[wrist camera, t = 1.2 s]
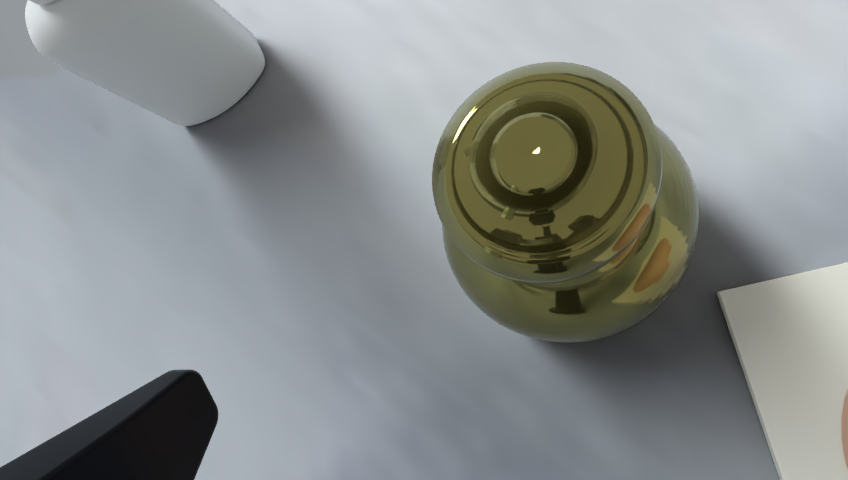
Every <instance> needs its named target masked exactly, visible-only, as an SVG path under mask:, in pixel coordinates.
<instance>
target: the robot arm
mask: <svg viewBox="0 0 848 480" xmlns="http://www.w3.org/2000/svg"><path fill="white" fill-rule="evenodd" d="M217 421H218V409H217V406H216V404H215V402H214V400H213V398H212V396H211V394H210V392H209V390H208V388H207V386H206V384H205V382H204V380H203V378H202V377H201V375H200V374H199V373H198V372H196V371H194V370H172V371H169V372H167V373H165V374H163V375H161V376H160V377H158V378H156V379H154V380H153V381H151V382H149V383H147V384H146V385H144V386H142V387H140V388H139V389H137V390H135V391H133V392H132V393H130V394H128V395H126V396H125V397H123V398H121V399H119V400H118V401H116V402H114V403H112V404H111V405H109V406H107V407H105V408H104V409H102V410H100V411H98V412H97V413H95V414H93V415H91V416H90V417H88V418H86V419H84V420H83V421H81V422H79V423H77V424H76V425H74V426H72V427H70V428H69V429H67V430H65V431H63V432H62V433H60V434H58V435H56V436H55V437H53V438H51V439H49V440H48V441H46V442H44V443H42V444H41V445H39V446H37V447H35V448H34V449H32V450H30V451H28V452H27V453H25V454H23V455H21V456H20V457H18V458H16V459H14V460H13V461H11V462H9V463H7V464H6V465H4V466H2V467H0V480H194V479H195V476H196V474H197V471H198V469H199V466H200V464H201V461H202V459H203V456H204V454H205V452H206V449H207V447H208V444H209V442H210V439H211V437H212V434H213V432H214V429H215V427H216V424H217Z"/></svg>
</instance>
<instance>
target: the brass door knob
mask: <svg viewBox="0 0 848 480" xmlns="http://www.w3.org/2000/svg"><path fill="white" fill-rule="evenodd" d="M432 187H433V196H434V201H435V205H436V209H437V212H438V215H439V217H440V220H441V222H442V230H443V240H444V246H445V251H446V254H447V258H448V261H449V264H450V266H451V269H452V271H453V273H454V275H455V278H456V279H457V281H458V283H459V285H460V286H461V288H462V289H463V291H464V292H465V293H466V295H467V296H468V297H469V298H470V300H471V301H472V302H473V303H474V304H475V305H476V306H477V307H478V308H479V309H480V310H481V311H482V312H484V313H485V314H486V315H487V316H488V317H490V318H491V319H493V320H494V321H496V322H497V323H499V324H500V325H502V326H504V327H506V328H508V329H510V330H512V331H514V332H516V333H519V334H522V335H525V336H528V337H531V338H535V339H539V340H545V341H552V342H568V343H573V342H588V341H594V340H599V339H603V338H606V337H610V336H613V335H615V334H618V333H620V332H623V331H625V330H627V329H629V328H631V327H632V326H634V325H636V324H637V323H639V322H641V321H642V320H643V319H645V318H646V317H647V316H649V315H650V314H651V313H652V312H653V311H654V310H655V309H656V308H658V306H659V305H660V304H661V303H662V302H663V301H664V300H665V299H666V298H667V297H668V296H669V295H670V293H671V292H672V291H673V289H674V288H675V287H676V285H677V284H678V282H679V281H680V279H681V278H682V276H683V274H684V272H685V270H686V268H687V266H688V264H689V262H690V259H691V257H692V254H693V251H694V248H695V244H696V240H697V234H698V226H699V204H698V197H697V192H696V187H695V183H694V180H693V178H692V175H691V172H690V170H689V168H688V165H687V163H686V161H685V160H684V158H683V156H682V155H681V153H680V151H679V150H678V149H677V147H676V146H675V145H674V143H673V142H672V141H671V140H670V139H669V137H668V136H667V135H666V134H665V133H664V132H663V131H662V130H661V129H660V128H658V127H657V126H656V125H655V124H654V123H653V121H652V119H651V117H650V115H649V114H648V112H647V110H646V108H645V107H644V106H643V104H642V103H641V102H640V100H639V99H638V98H637V97H636V96H635V95H634V94H633V93H632V92H631V91H630V90H629V89H628V88H627V87H626V86H624V85H623V84H622V83H620V82H619V81H618V80H616V79H614V78H613V77H611V76H609V75H607V74H605V73H603V72H601V71H599V70H596V69H594V68H590V67H587V66H584V65H579V64H574V63H565V62H546V63H537V64H532V65H527V66H523V67H520V68H516V69H514V70H511V71H508V72H506V73H504V74H502V75H500V76H497V77H496V78H494V79H492V80H491V81H489V82H487V83H486V84H484V85H483V86H481V87H480V88H479V89H478V90H476V91H475V92H474V93H473V94H472V95H471V96H469V97H468V98H467V99H466V100H465V101H464V103H463V104H462V105H461V106H460V107H459V108H458V109H457V111H456V112H455V113H454V115H453V116H452V118H451V119H450V121H449V122H448V124H447V126H446V128H445V129H444V131H443V134H442V136H441V138H440V141H439V143H438V146H437V150H436V153H435V157H434V163H433V172H432Z"/></svg>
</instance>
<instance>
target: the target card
mask: <svg viewBox="0 0 848 480" xmlns="http://www.w3.org/2000/svg"><path fill="white" fill-rule="evenodd" d="M717 296H718V299H719V302H720V305H721V308H722V311H723V313H724V316H725V319H726V322H727V325H728V328H729V331H730V334H731V337H732V340H733V343H734V346H735V349H736V352H737V355H738V358H739V361H740V364H741V366H742V369H743V372H744V375H745V378H746V381H747V384H748V387H749V390H750V393H751V396H752V399H753V402H754V405H755V408H756V411H757V414H758V417H759V420H760V422H761V425H762V428H763V431H764V434H765V437H766V440H767V443H768V446H769V449H770V452H771V455H772V458H773V461H774V464H775V467H776V470H777V473H778V475H779V478H780V480H848V262H847V263H843V264H838V265H834V266H829V267H825V268H821V269H816V270H812V271H807V272H803V273H798V274H794V275H790V276H785V277H781V278H776V279H772V280H767V281H763V282H759V283H754V284H750V285H745V286H741V287H737V288H732V289H728V290H723V291H719V292H717Z"/></svg>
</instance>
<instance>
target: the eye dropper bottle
mask: <svg viewBox="0 0 848 480" xmlns="http://www.w3.org/2000/svg"><path fill="white" fill-rule="evenodd" d="M25 19H26V25H27V29H28V32H29V34H30V37H31V39H32V42H33V44H34V46H35V47H36V49H37V50H38V51H39V52H40V53H41V54H42V55H43V56H44V57H46V58H47V59H49V60H51V61H52V62H54V63H56V64H58V65H60V66H62V67H63V68H65V69H67V70H69V71H71V72H73V73H75V74H77V75H79V76H81V77H83V78H85V79H87V80H89V81H91V82H93V83H95V84H96V85H98V86H100V87H102V88H104V89H106V90H108V91H110V92H112V93H114V94H116V95H118V96H120V97H122V98H124V99H126V100H128V101H130V102H132V103H134V104H136V105H138V106H140V107H142V108H144V109H146V110H148V111H150V112H153V113H155V114H157V115H159V116H161V117H163V118H165V119H167V120H169V121H171V122H173V123H175V124H177V125H182V126H191V125H195V124H199V123H202V122H205V121H207V120H210V119H212V118H214V117H216V116H218V115H220V114H221V113H223V112H224V111H226V110H227V109H229V108H230V107H231V106H233V105H234V104H235V103H236V102H238V101H239V100H240V99H241V98H242V97H243V96H244V95H245V94H246V93H247V92H248V91H249V89H250V88H251V87H252V86H253V85H254V83H255V82H256V81H257V79H258V78H259V77H260V75H261V73H262V72H263V69H264V66H265V58H264V55H263V52H262V50H261V48H260V46H259V44H258V42H257V40H256V38H255V37H254V35H253V33H251V32H250V31H249V30H248V29H247V28H246V27H245V26H244V25H242V24H241V23H240V22H239V21H238V20H237V19H235V18H234V17H233V16H232V15H231V14H229V13H228V12H227V11H226V10H225V9H224V8H222V7H221V6H220V5H219V4H218V3H216V2H215V1H214V0H28V1H27V5H26V10H25Z"/></svg>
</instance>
